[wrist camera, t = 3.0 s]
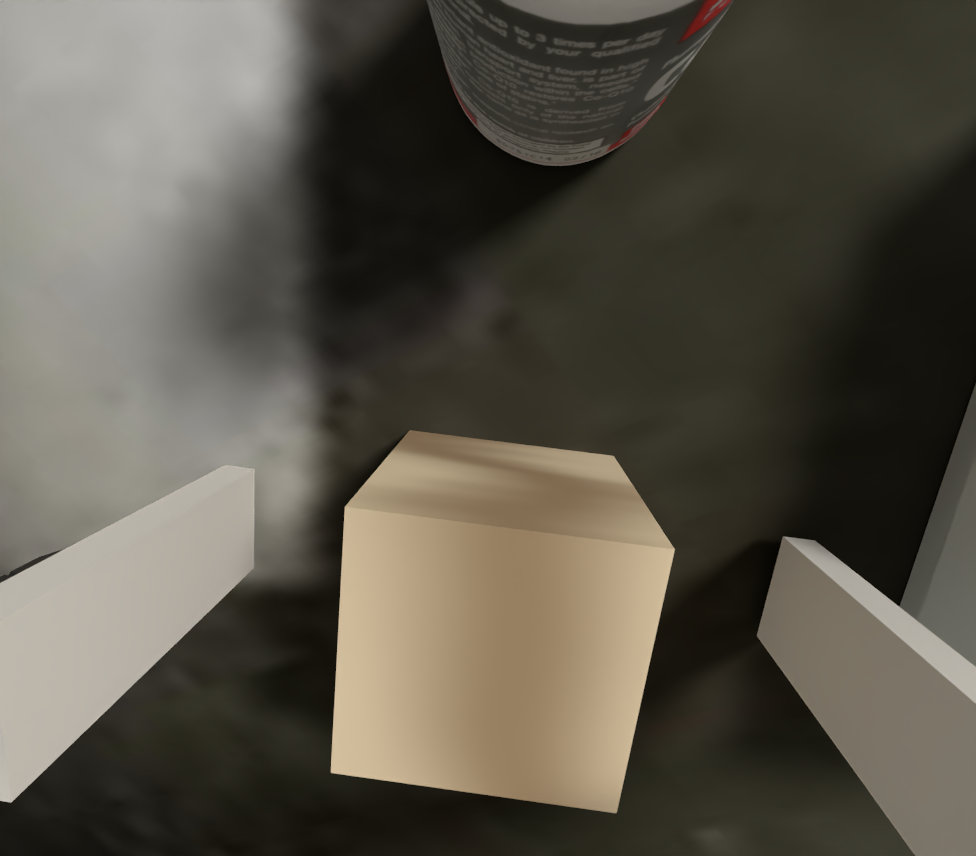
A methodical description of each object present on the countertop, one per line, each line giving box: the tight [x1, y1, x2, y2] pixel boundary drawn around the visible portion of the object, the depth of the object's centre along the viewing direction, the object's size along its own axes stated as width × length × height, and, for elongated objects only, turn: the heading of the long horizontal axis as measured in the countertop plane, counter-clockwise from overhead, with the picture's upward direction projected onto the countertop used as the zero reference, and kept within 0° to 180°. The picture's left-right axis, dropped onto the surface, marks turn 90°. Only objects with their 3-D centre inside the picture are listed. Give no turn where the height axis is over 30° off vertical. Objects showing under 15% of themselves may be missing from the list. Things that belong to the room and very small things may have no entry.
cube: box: [331, 430, 675, 813], centre depth 11 cm, size 5×5×5 cm
